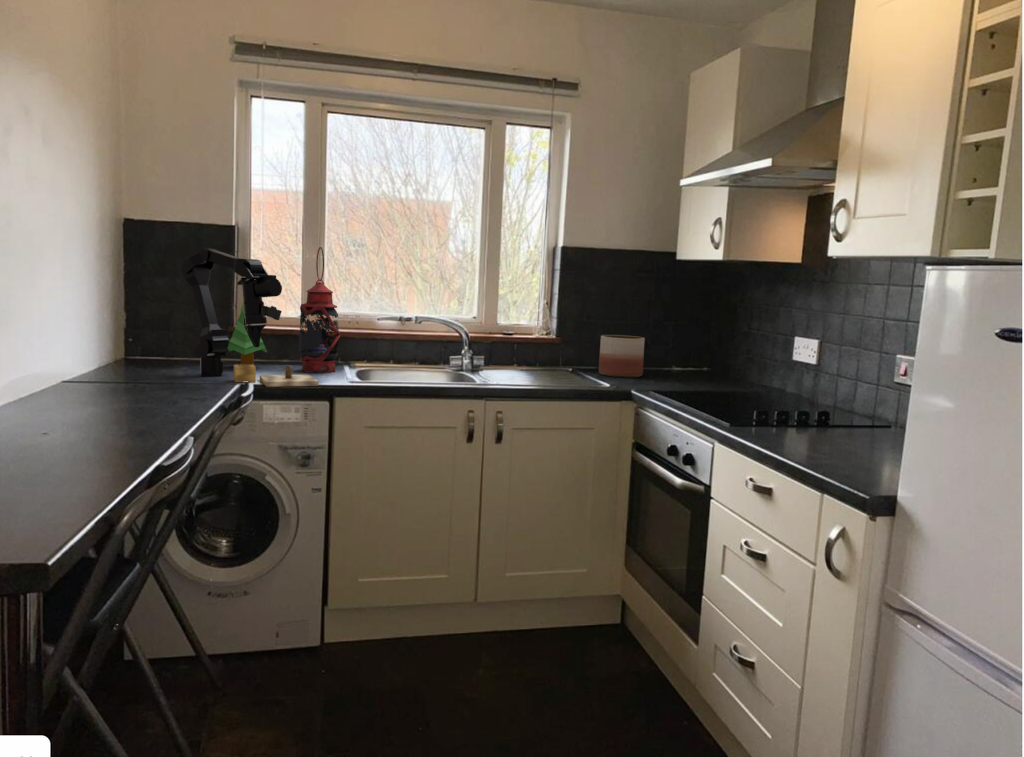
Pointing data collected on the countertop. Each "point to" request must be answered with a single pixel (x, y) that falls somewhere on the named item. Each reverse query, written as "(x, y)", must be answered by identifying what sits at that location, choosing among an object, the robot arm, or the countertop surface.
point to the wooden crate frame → (244, 373)
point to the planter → (621, 356)
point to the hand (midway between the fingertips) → (256, 347)
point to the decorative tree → (244, 342)
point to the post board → (288, 379)
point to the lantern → (318, 328)
